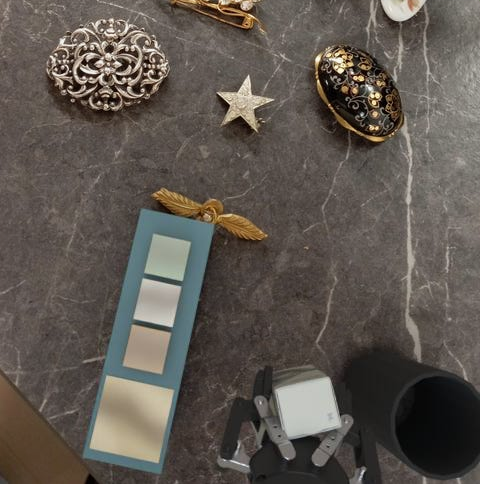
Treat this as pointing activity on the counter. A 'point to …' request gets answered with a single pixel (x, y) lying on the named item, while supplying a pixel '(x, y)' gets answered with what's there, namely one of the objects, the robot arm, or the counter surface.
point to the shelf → (181, 329)
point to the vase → (418, 413)
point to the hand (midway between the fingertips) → (302, 379)
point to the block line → (144, 362)
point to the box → (304, 401)
